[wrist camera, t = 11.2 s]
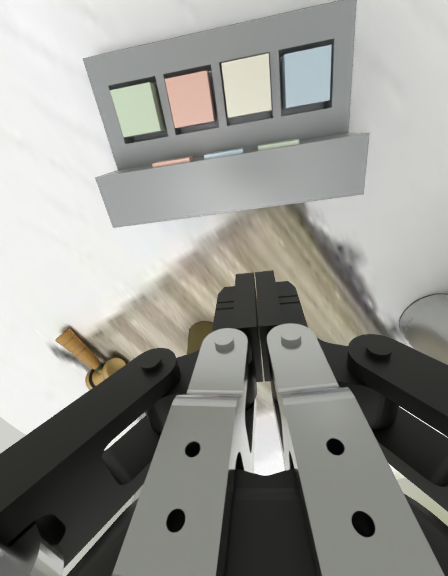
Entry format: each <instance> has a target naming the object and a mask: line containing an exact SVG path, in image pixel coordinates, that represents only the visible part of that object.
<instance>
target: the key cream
mask: <svg viewBox="0 0 448 576" xmlns="http://www.w3.org/2000/svg"><path fill="white" fill-rule="evenodd" d="M221 64H222V72H223V81H224V89H225V97H226V105H227V113H228V118H229V119H230V118H235V117H241V116H247V115H252V114H258V113H263V112H269V111H271V110H272V105H271V87H270V69H269V53H267V54H263V55H258V56H253V57H248V58H243V59H239V60H234V61H229V62H224V63H221Z"/></svg>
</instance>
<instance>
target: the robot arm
mask: <svg viewBox="0 0 448 576" xmlns="http://www.w3.org/2000/svg"><path fill="white" fill-rule="evenodd" d="M255 276H256V288H255V279H254V273H244V274H236V280H235V286H233V287H224V288H223V289H222V291H221V292H220V293H219V294H218V298H217V304H216V310H215V316H214V322H213V328H212V333H210V334H209V335H208V336H207V337H206V338H205V339H204V340H203V342H202V345H201V348H200V349H199V350H198V351H196V352H193V353H191V354H188V355H184V356H181V357H178V358H176V356H175V354H174V353H173V352H172V351H171V350H169V349H166V348H156V349H151V350H148V351H146V352H144V353H142V354H140V355H139V356H137V357H136V358H135V359H133V360H132V361H130V362H129V363H128V364H126V365H125V366H123V367H122V368H121V369H119V370H118V371H116V372H115V373H113V374H112V375H111V376H109V377H108V378H106V379H105V380H104V381H102V382H101V383H99V384H98V385H97V386H95V387H94V388H92V389H91V390H90V391H88V392H87V393H85V394H84V395H82V396H81V397H80V398H78V399H77V400H75V401H74V402H73V403H71V404H70V405H68V406H67V407H66V408H64V409H63V410H61V411H60V412H58V413H57V414H56V415H54V416H53V417H51V418H50V419H49V420H47V421H46V422H44V423H43V424H42V425H40V426H39V427H37V428H36V429H35V430H33V431H32V432H30V433H29V434H27V435H26V436H25V437H23V438H22V439H20V440H19V441H18V442H16V443H15V444H13V445H12V446H11V447H9V448H8V449H6V450H5V451H4V452H2V453H1V454H0V576H62V574H63V569H64V568H65V566H66V565H67V564H68V563H69V562H70V561H71V560H72V559H73V558H74V557H75V556H76V555H77V554H78V553H79V552H80V551H81V550H82V549H83V548H84V546H85V545H86V544H87V543H88V542H89V541H90V540H91V539H92V538H93V537H94V536H95V535H96V534H97V533H98V532H99V531H100V530H101V529H102V527H103V526H104V525H105V524H106V523H107V522H108V521H109V520H110V519H111V518H112V517H113V516H114V515H115V514H116V513H117V512H118V510H120V508H122V506H123V505H124V504H125V503H126V502H127V501H128V500H129V499H130V498H131V497H132V496H133V495H134V494H135V493H136V492H137V491H138V490H139V489H140V487H141V486H142V485H143V484H144V485H143V488H142V491H141V494H140V496H139V498H138V499H136V500H135V501H134V502H133V503H132V504H131V505H130V506H129V507H128V508H127V509H126V510H125V511H124V512H123V513H122V514H121V515H120V516H119V517H118V518H117V520H116V521H115V522H114V523H113V524H112V525H111V526H110V528H109V529H108V530H107V531H106V532H105V533H104V534H103V535H102V537H100V539H99V540H98V541H97V542H96V543H95V544H94V546H92V548H91V549H90V550H89V551H88V552H87V553H86V554H85V555H84V557H83V558H82V559H81V560H80V561H79V562H78V563H77V564H76V566H75V567H74V568H73V569H72V570H71V571H70V572H69V573H68V575H67V576H448V526H447V525H446V524H444V523H443V522H442V521H441V520H440V519H439V518H437V517H436V516H435V515H434V514H433V513H431V512H430V511H429V510H427V509H426V508H425V507H423V506H422V505H420V504H419V503H418V502H416V501H415V500H413V499H412V498H410V497H408V496H407V495H405V494H404V493H403V492H402V490H401V488H400V486H399V484H398V482H397V480H396V478H395V476H394V474H393V472H392V470H391V468H390V466H389V464H390V465H391V466H392V467H394V468H395V469H396V470H397V471H399V472H400V473H401V474H402V475H404V476H405V477H406V478H407V479H408V480H410V481H411V482H412V483H414V484H415V485H416V486H417V487H418V488H420V489H421V490H422V491H423V492H424V493H426V494H427V495H429V497H431V498H432V499H433V500H434V501H436V502H437V503H438V504H439V505H440V506H442V507H443V508H444V509H445V510H447V511H448V438H447V437H448V295H446V294H437V295H431V296H427V297H425V298H422V299H420V300H418V301H416V302H415V303H413V304H412V305H411V306H409V307H408V308H407V310H406V311H405V312H404V313H403V315H402V317H401V319H400V325H399V327H400V331H401V332H402V334H403V335H404V337H405V338H406V340H407V341H408V342H409V343H410V345H411V346H412V347H413V348H414V349H413V348H411V347H408V346H406V345H404V344H402V343H400V342H398V341H396V340H394V339H391V338H389V337H385V336H381V335H375V334H367V335H361V336H358V337H356V338H354V339H353V340H352V341H351V342H350V343H349V346H343V345H337V344H331V343H327V342H324V341H322V340H320V339H318V338H316V336H315V334H314V332H313V331H312V330H310V329H309V328H308V326H307V323H306V320H305V316H304V313H303V310H302V307H301V304H300V301H299V297H298V294H297V291H296V288H295V287H294V286H293V285H292V284H291V283H290V282H288V281H284V282H275V277H274V272H273V270H272V271H263V272H255ZM256 291H257V298H256ZM257 306H258V307H257ZM260 341H261V347H260ZM261 350H262V359H263V369H264V378H265V381H271V389H272V399H273V407H274V412H275V417H276V423H277V428H278V433H279V439H280V444H281V449H282V455H283V460H284V466H285V471H283V472H279V473H276V474H273V475H269V476H262V475H258V474H254V443H255V422H256V395H257V384H256V382H263V376H262V361H261ZM399 406H400V407H402V408H403V409H405V410H407V411H408V412H410V413H411V414H413V415H414V416H416V417H418V418H419V419H421V420H422V421H424V422H425V423H427V424H429V425H430V426H432V427H433V428H435V429H436V430H438V431H440V432H441V433H443V434H444V435H446V436H447V437H445V436H444V435H442V434H440V433H439V432H437V431H436V430H434V429H433V428H431V427H430V426H428V425H426V424H425V423H423V422H422V421H420V420H419V419H417V418H416V417H414V416H412V415H411V414H409V413H408V412H406V411H405V410H403V409H401V408H400V407H399ZM144 412H145V413H146V416H145V417H144V418H143V419H141V420H140V421H139V422H138V423H137V424H136V425H135V426H134V427H132V428H131V429H130V430H129V431H128V432H127V433H126V434H124V435H123V436H122V437H121V438H120V439H119V440H118V441H116V442H115V443H114V444H113V445H112V446H111V447H110V448H108V449H107V450H105V451H104V449H105V448H106V446H107V445H108V444H109V443H110V442H111V441H112V440H113V439H114V438H115V437H116V436H117V435H119V434H120V433H121V432H122V431H123V430H124V429H126V428H127V427H128V426H129V425H130V424H131V423H132V422H134V421H135V420H136V419H137V418H138V417H139V416H140V415H142V414H143V413H144ZM388 463H389V464H388Z"/></svg>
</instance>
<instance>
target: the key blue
mask: <svg viewBox="0 0 448 576" xmlns="http://www.w3.org/2000/svg"><path fill="white" fill-rule="evenodd" d="M331 47H332V45H327V46H322V47H318V48H313V49H308V50H303V51H298V52H293V53H289V54H284V56H283V58H282V60H281V69H282V96H283V110H284V109H289V108H295V107H300V106H306V105H311V104H317V103H323V102H326V101H329V100H330V77H331Z"/></svg>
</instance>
